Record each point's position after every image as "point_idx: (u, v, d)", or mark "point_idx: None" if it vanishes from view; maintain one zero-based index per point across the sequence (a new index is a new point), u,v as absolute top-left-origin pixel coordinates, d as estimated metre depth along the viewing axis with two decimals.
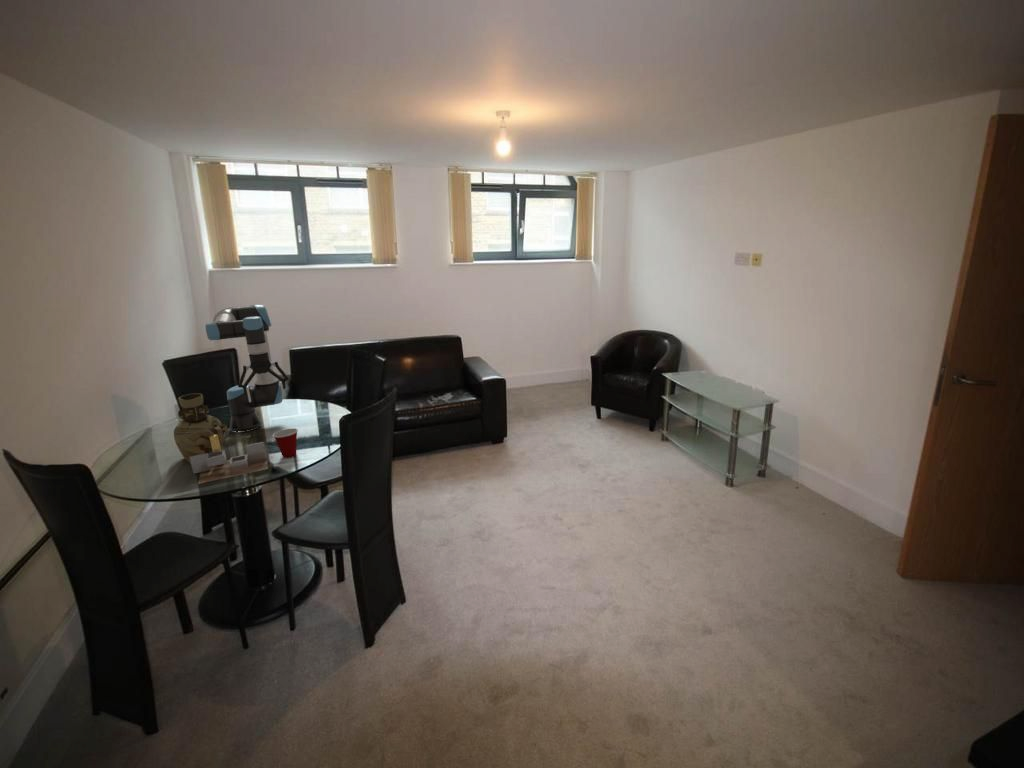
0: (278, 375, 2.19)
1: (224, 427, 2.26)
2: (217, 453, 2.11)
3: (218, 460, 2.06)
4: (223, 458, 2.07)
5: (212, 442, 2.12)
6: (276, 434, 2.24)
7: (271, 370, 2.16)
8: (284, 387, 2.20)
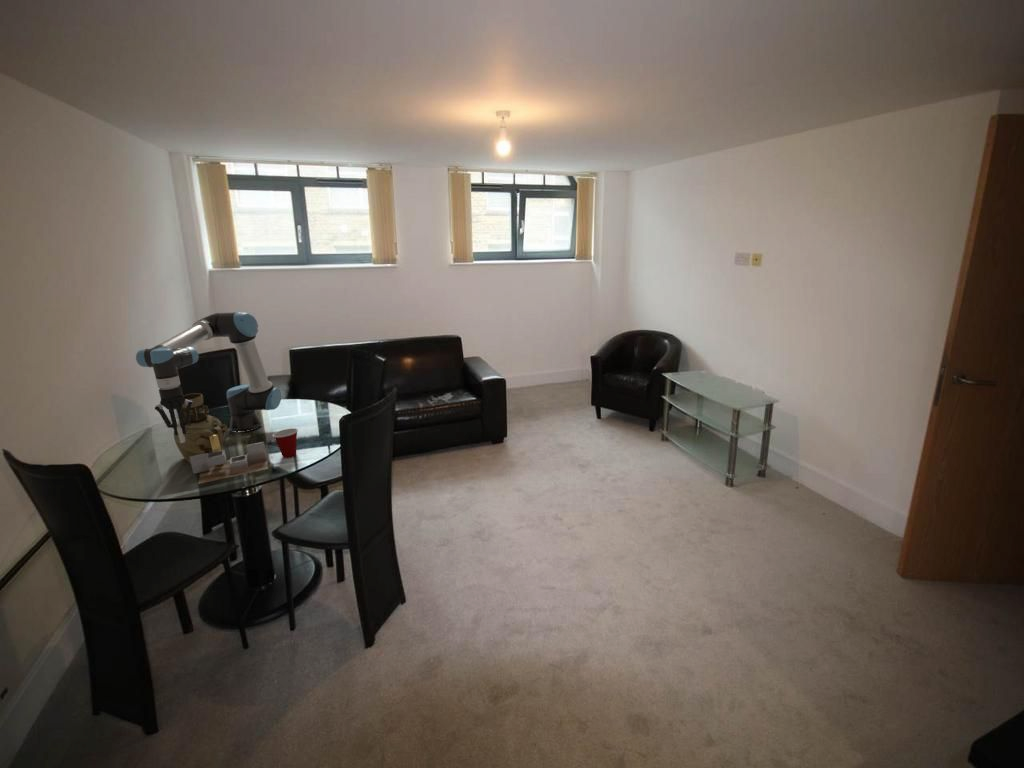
0: (182, 417, 1.99)
1: (224, 427, 2.26)
2: (217, 453, 2.11)
3: (218, 460, 2.06)
4: (223, 458, 2.07)
5: (212, 442, 2.12)
6: (276, 434, 2.24)
7: (180, 409, 1.97)
8: (184, 432, 2.00)
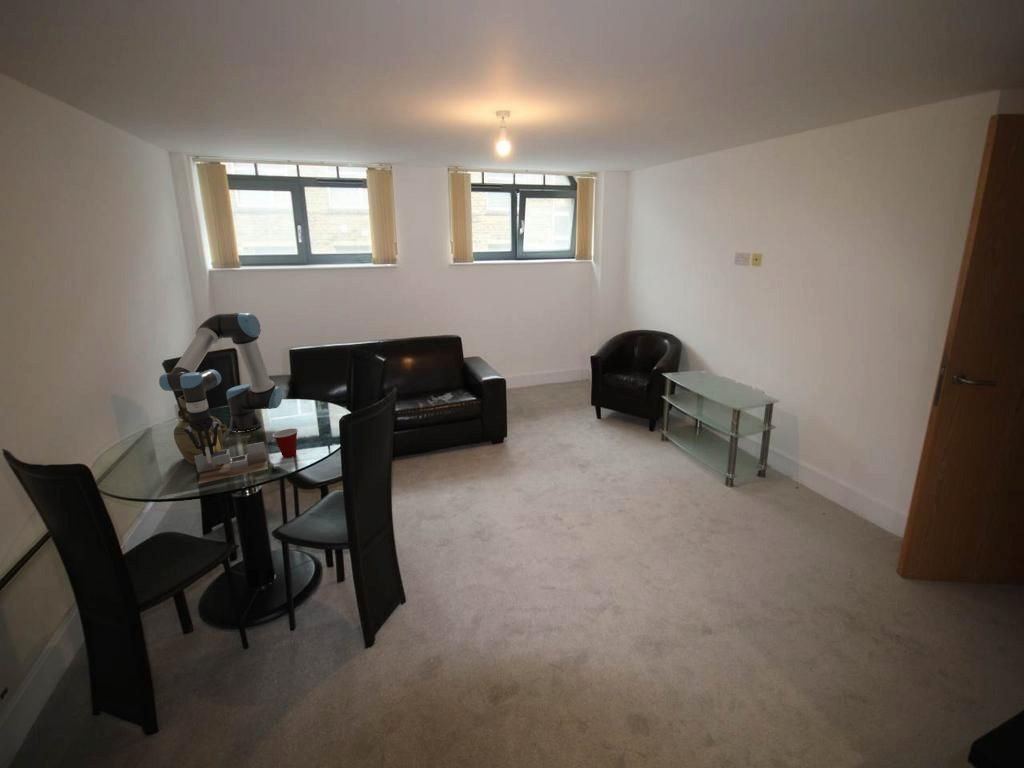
0: (210, 439, 2.06)
1: (224, 427, 2.26)
2: (221, 452, 2.12)
3: (223, 459, 2.07)
4: (227, 457, 2.08)
5: (212, 442, 2.12)
6: (276, 434, 2.24)
7: (208, 431, 2.04)
8: (212, 453, 2.07)
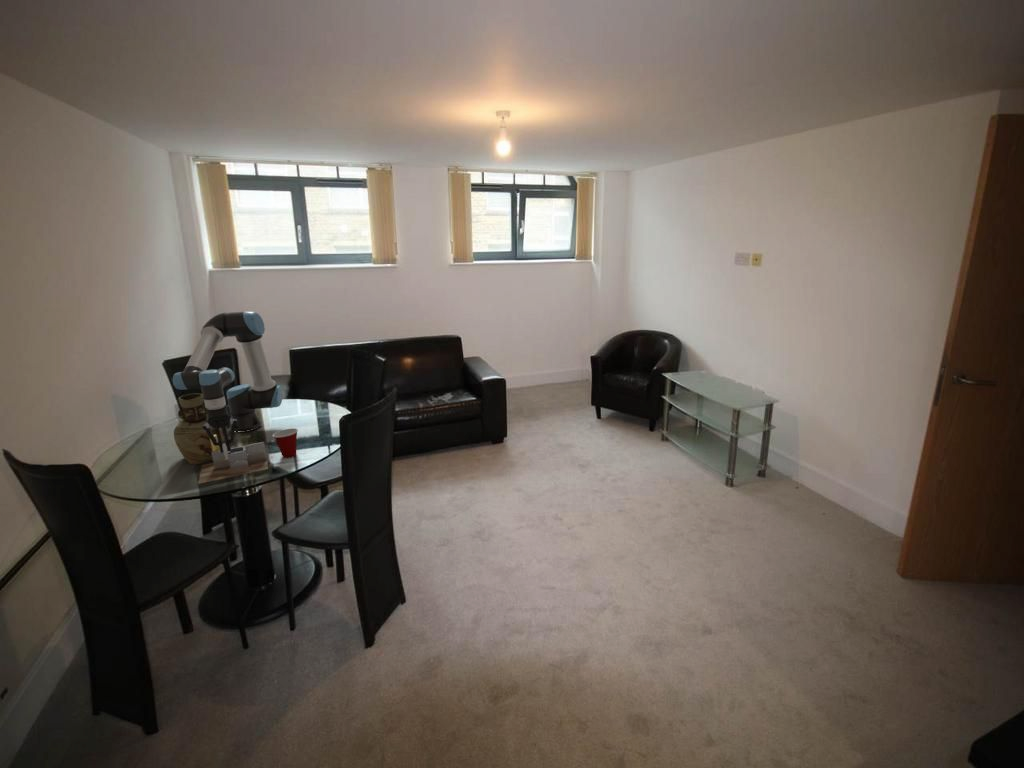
0: (227, 435, 2.08)
1: None
2: (238, 449, 2.14)
3: (240, 455, 2.10)
4: (244, 454, 2.11)
5: (212, 442, 2.12)
6: (276, 434, 2.24)
7: (225, 428, 2.07)
8: (229, 449, 2.09)
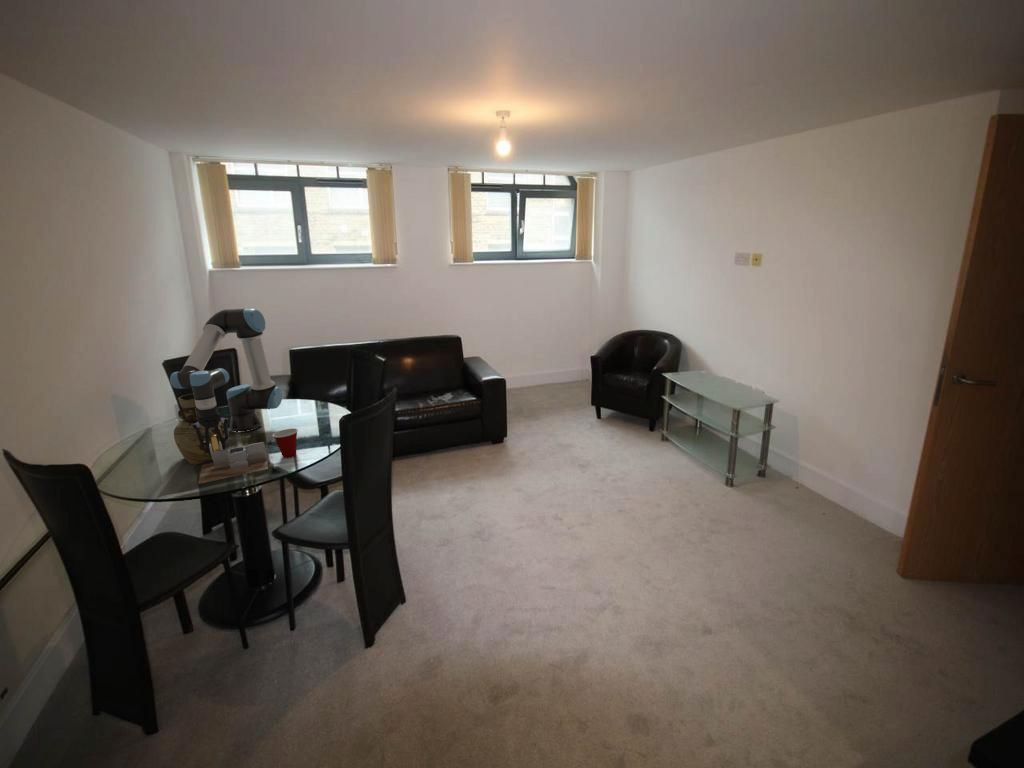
0: (221, 434, 2.14)
1: None
2: (238, 449, 2.14)
3: (239, 455, 2.10)
4: (244, 454, 2.11)
5: (212, 442, 2.12)
6: (276, 434, 2.24)
7: (217, 427, 2.12)
8: (224, 447, 2.15)
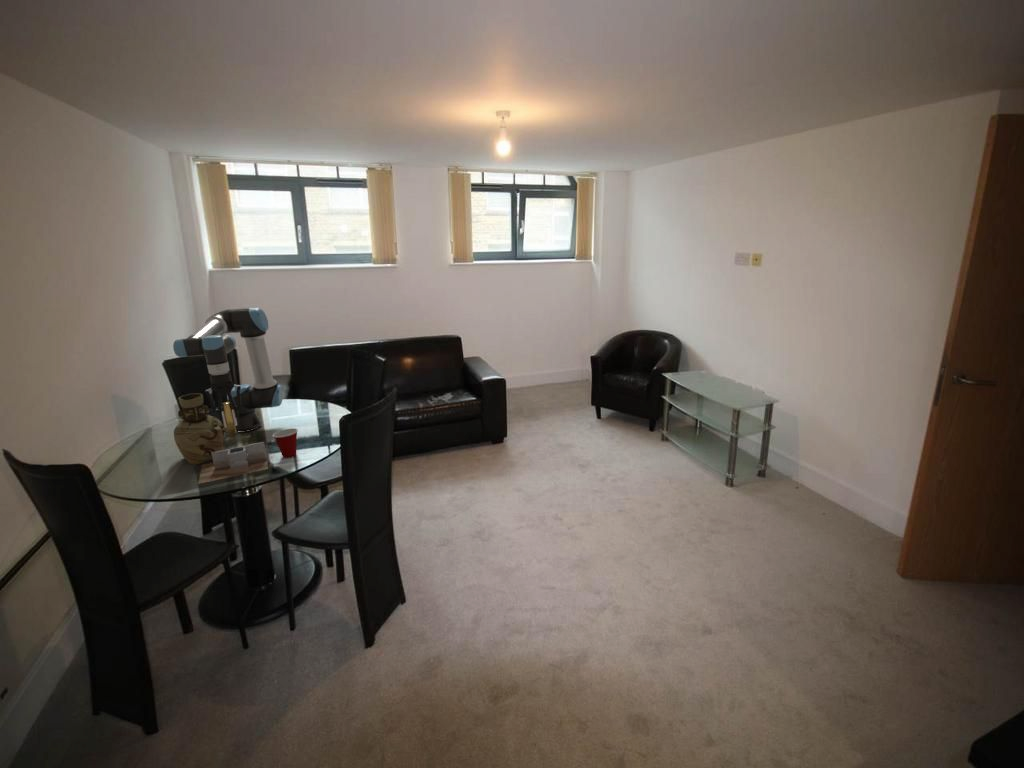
0: (234, 401, 2.07)
1: (224, 427, 2.26)
2: (238, 449, 2.14)
3: (239, 455, 2.10)
4: (244, 454, 2.11)
5: (225, 410, 2.05)
6: (276, 434, 2.24)
7: (230, 394, 2.05)
8: (236, 415, 2.08)
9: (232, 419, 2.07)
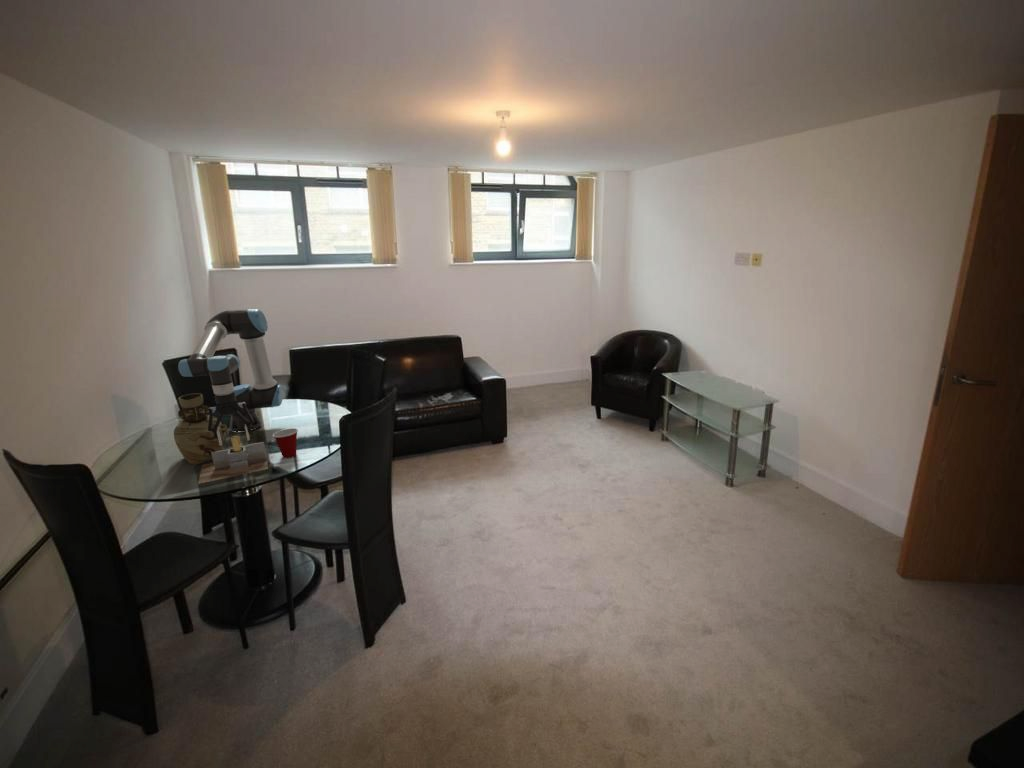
0: (244, 417, 2.10)
1: (224, 427, 2.26)
2: None
3: (239, 455, 2.10)
4: (244, 454, 2.11)
5: (233, 444, 2.09)
6: (276, 434, 2.24)
7: (237, 412, 2.08)
8: (249, 430, 2.12)
9: None
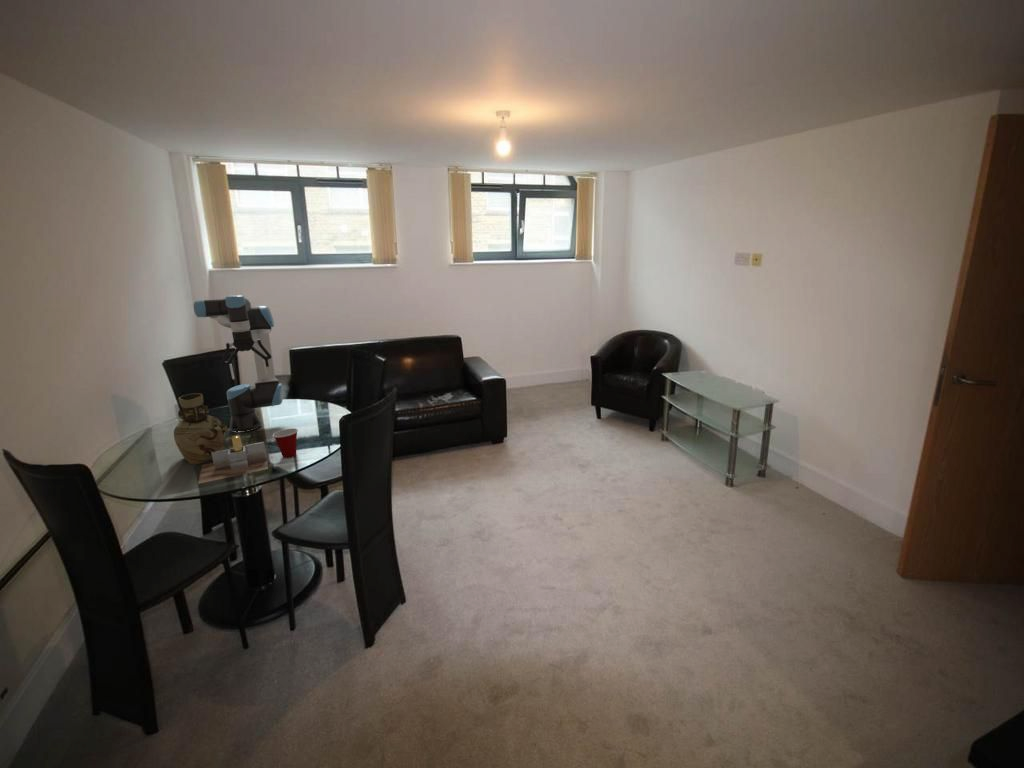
0: (261, 353, 2.23)
1: (224, 427, 2.26)
2: None
3: (239, 455, 2.10)
4: (244, 454, 2.11)
5: (234, 443, 2.10)
6: (276, 434, 2.24)
7: (254, 348, 2.21)
8: (267, 365, 2.25)
9: None
